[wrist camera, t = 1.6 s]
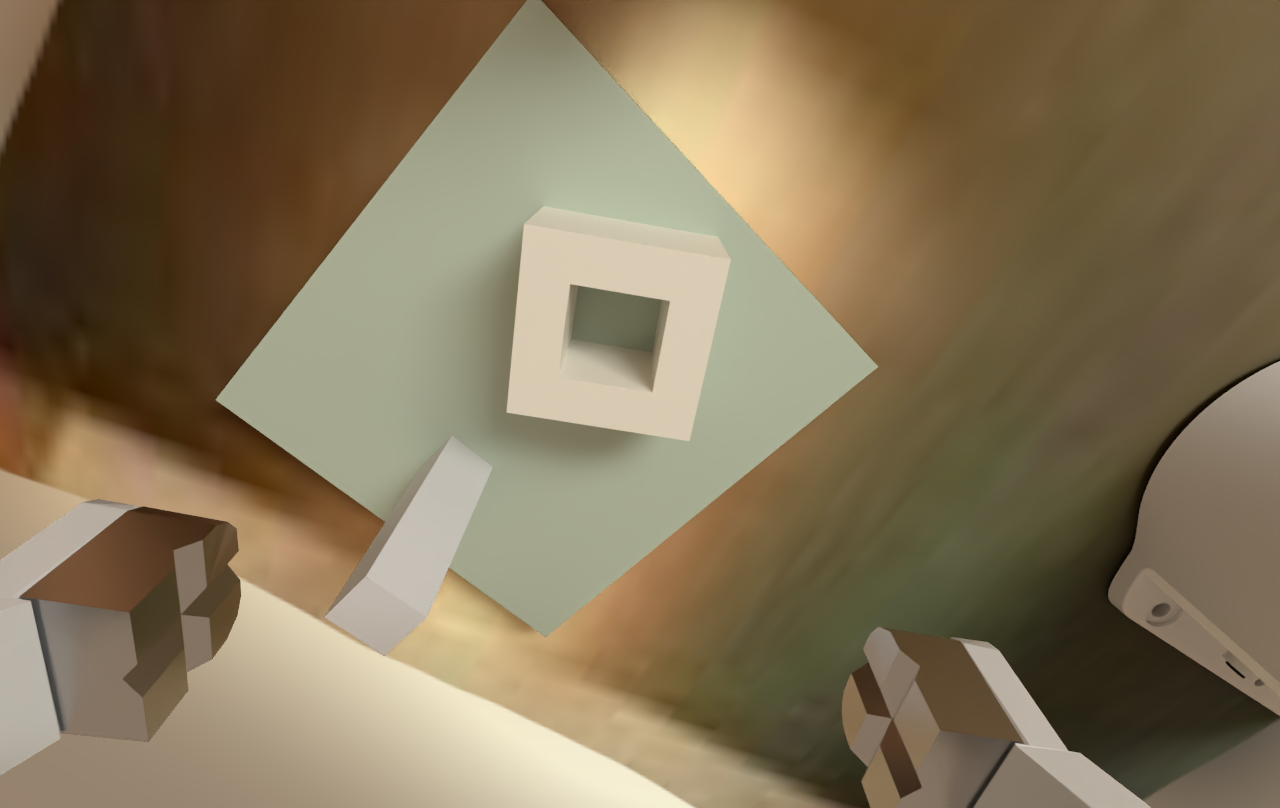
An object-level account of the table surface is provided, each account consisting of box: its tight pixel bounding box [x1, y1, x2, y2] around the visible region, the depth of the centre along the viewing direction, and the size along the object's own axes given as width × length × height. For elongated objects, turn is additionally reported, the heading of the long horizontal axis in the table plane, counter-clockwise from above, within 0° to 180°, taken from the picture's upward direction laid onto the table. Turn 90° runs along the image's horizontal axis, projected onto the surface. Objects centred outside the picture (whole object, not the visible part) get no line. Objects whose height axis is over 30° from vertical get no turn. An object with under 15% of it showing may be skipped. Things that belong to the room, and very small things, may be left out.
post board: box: [216, 0, 878, 656], centre depth 23 cm, size 18×20×10 cm
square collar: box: [506, 206, 731, 441], centre depth 23 cm, size 6×6×4 cm
